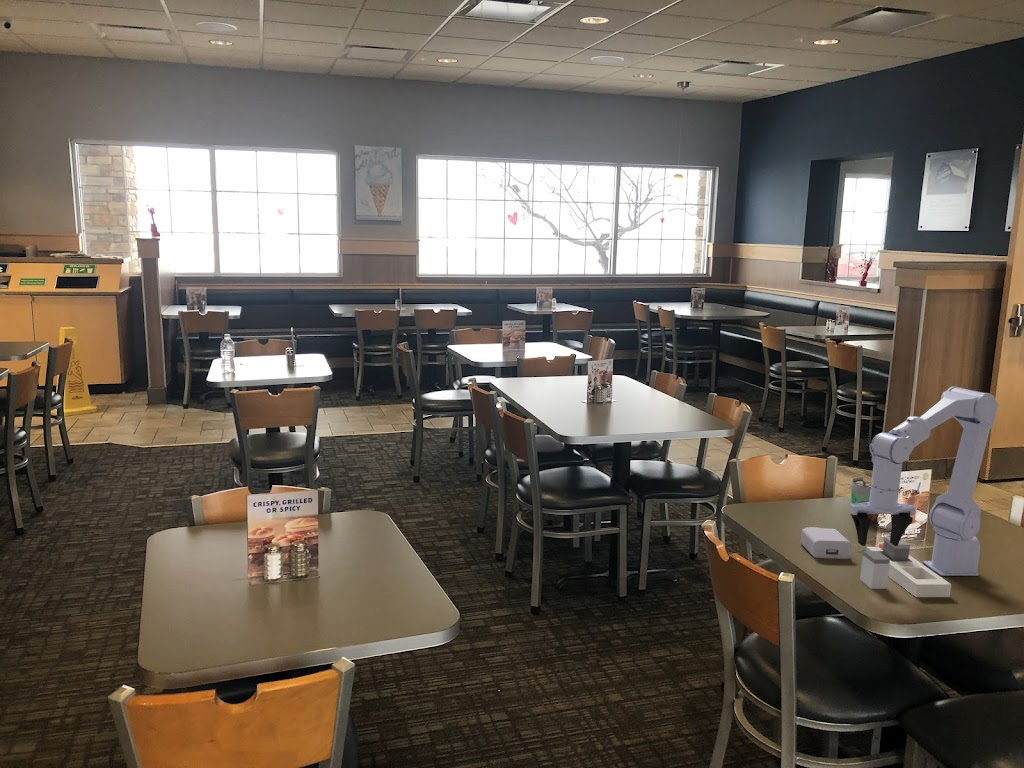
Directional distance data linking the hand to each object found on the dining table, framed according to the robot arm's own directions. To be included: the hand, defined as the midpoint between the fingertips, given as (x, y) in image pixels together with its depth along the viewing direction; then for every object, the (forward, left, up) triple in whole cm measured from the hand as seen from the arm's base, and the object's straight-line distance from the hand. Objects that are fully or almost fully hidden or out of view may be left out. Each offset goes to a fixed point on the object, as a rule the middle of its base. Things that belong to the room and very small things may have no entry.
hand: (877, 544), depth 187 cm
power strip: (-10, -4, -10) cm, 14 cm away
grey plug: (0, 0, -10) cm, 10 cm away
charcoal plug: (-10, -9, -10) cm, 17 cm away
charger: (+2, -23, -10) cm, 25 cm away
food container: (-20, -45, -10) cm, 50 cm away
